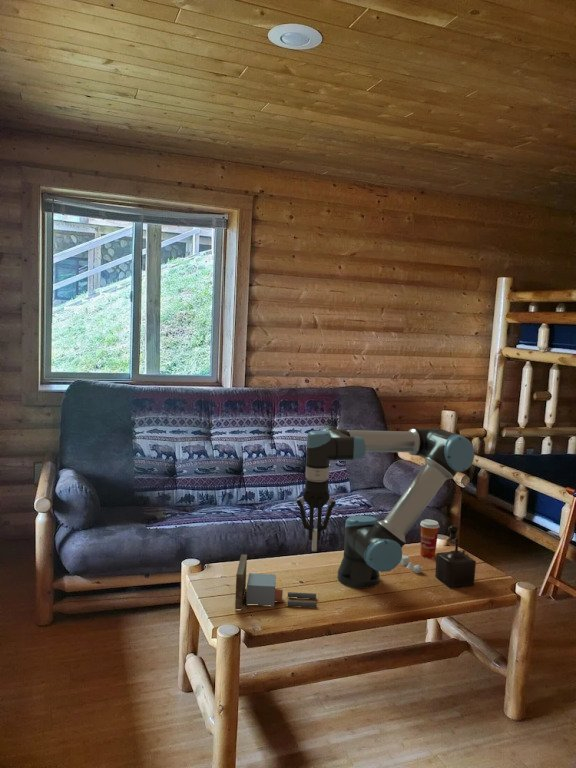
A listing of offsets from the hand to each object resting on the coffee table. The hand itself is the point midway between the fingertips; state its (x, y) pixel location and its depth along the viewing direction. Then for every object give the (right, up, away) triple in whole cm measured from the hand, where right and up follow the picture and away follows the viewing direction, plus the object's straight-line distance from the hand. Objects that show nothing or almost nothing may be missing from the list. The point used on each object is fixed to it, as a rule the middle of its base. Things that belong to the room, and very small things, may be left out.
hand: (314, 549), depth 192 cm
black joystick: (+52, -18, +26) cm, 61 cm away
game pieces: (+38, -17, +34) cm, 54 cm away
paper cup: (+48, -16, +47) cm, 69 cm away
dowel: (-16, -18, +2) cm, 23 cm away
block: (-18, -17, +2) cm, 25 cm away
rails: (-4, -18, +2) cm, 18 cm away
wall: (-24, -17, +2) cm, 30 cm away
